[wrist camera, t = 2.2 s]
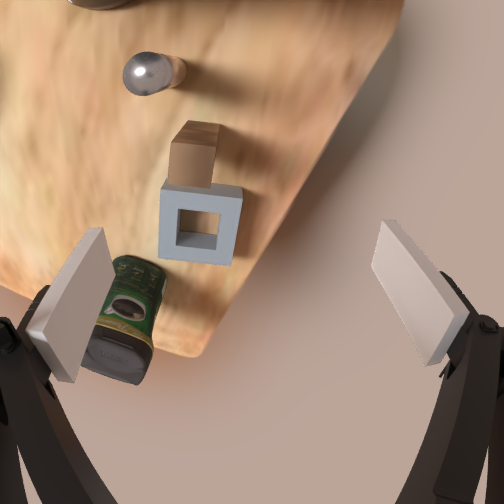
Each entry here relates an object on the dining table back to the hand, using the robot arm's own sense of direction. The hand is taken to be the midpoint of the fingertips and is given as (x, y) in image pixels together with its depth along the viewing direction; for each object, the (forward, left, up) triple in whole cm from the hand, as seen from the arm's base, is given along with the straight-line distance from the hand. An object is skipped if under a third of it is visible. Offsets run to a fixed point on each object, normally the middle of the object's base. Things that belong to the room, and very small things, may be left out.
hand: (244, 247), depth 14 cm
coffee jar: (-12, -24, -27) cm, 38 cm away
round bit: (-9, +7, -27) cm, 29 cm away
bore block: (-3, -12, -27) cm, 30 cm away
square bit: (-4, -1, -27) cm, 27 cm away
